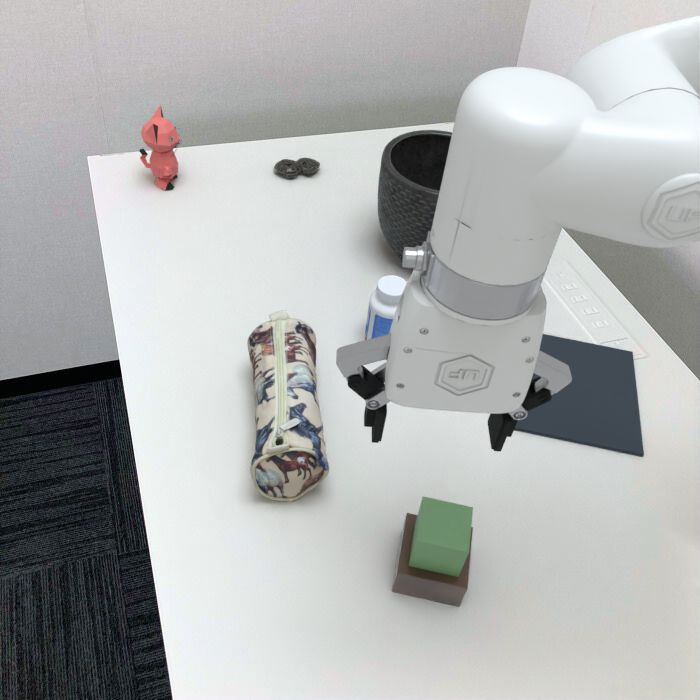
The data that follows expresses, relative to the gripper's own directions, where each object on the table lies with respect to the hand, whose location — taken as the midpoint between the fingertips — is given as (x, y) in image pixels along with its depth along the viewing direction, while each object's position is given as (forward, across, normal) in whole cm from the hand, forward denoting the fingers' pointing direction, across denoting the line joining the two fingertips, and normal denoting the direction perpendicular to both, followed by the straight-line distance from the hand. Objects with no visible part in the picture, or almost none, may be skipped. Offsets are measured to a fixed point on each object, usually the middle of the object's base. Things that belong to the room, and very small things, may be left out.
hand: (434, 432), depth 59 cm
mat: (+24, +24, +28) cm, 43 cm away
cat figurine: (+24, -36, +67) cm, 80 cm away
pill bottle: (+24, 0, +34) cm, 41 cm away
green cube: (+20, +4, +1) cm, 20 cm away
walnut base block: (+24, +4, +1) cm, 24 cm away
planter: (+24, +6, +54) cm, 59 cm away
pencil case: (+24, -13, +18) cm, 32 cm away
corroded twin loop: (+24, -15, +73) cm, 78 cm away
